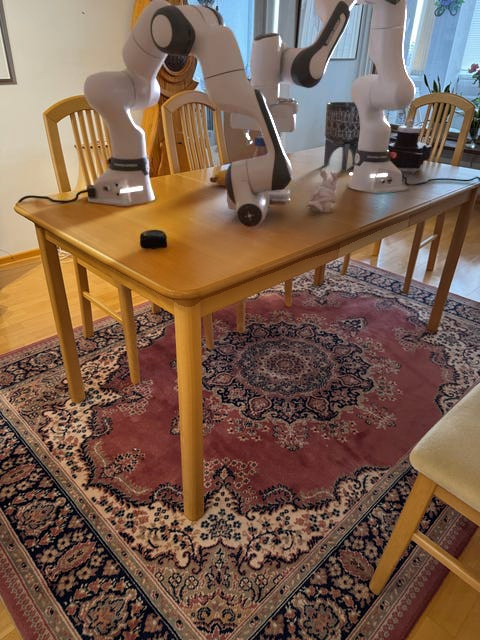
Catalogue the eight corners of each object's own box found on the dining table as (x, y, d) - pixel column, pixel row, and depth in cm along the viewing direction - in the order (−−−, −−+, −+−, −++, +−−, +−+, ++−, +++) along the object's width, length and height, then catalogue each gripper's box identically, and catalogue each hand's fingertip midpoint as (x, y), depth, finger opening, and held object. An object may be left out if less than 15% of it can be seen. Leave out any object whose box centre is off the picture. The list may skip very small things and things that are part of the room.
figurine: (341, 207, 153) (346, 168, 147) (322, 218, 142) (326, 176, 136) (319, 203, 157) (323, 165, 150) (299, 213, 146) (302, 173, 140)
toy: (207, 178, 170) (214, 169, 182) (213, 195, 173) (220, 184, 185) (234, 169, 167) (240, 160, 179) (240, 186, 169) (245, 176, 182)
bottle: (268, 205, 154) (272, 139, 143) (265, 209, 149) (268, 141, 139) (253, 203, 155) (255, 138, 144) (249, 208, 151) (251, 140, 140)
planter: (313, 167, 208) (319, 103, 195) (331, 160, 222) (338, 101, 209) (353, 173, 199) (362, 107, 185) (369, 166, 213) (379, 104, 199)
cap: (270, 144, 144) (270, 136, 143) (268, 146, 140) (268, 138, 139) (256, 143, 145) (256, 135, 144) (253, 146, 141) (254, 137, 140)
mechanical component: (377, 119, 195) (405, 114, 215) (369, 169, 206) (397, 160, 225) (427, 124, 183) (452, 118, 203) (415, 177, 194) (441, 167, 213)
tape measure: (140, 252, 115) (139, 238, 113) (141, 242, 120) (140, 229, 119) (167, 251, 116) (166, 237, 114) (167, 241, 121) (166, 228, 120)
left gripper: (290, 191, 136) (292, 181, 147) (223, 188, 138) (230, 177, 150) (289, 212, 139) (291, 200, 151) (223, 208, 141) (230, 196, 153)
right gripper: (300, 97, 136) (296, 146, 143) (235, 94, 141) (234, 142, 148) (296, 99, 131) (292, 149, 137) (228, 96, 135) (228, 145, 142)
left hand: (260, 189), depth 150 cm, fingers closed on bottle, 5 cm apart
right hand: (261, 145), depth 143 cm, fingers open, 7 cm apart
